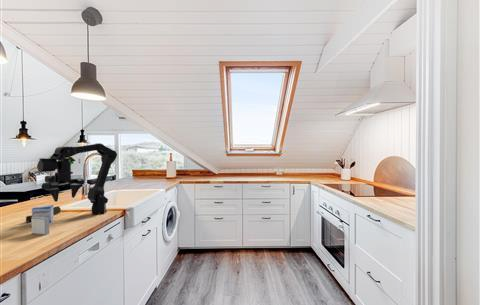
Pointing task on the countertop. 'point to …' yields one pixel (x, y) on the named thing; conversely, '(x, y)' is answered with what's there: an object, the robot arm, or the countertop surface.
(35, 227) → the tile
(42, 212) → the medicine box
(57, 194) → the robot arm
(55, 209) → the hand tool
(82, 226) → the countertop surface
